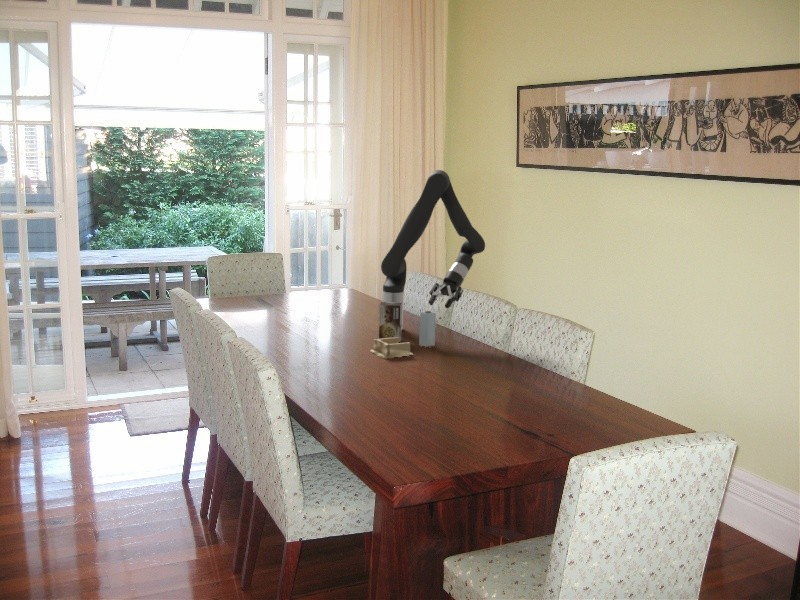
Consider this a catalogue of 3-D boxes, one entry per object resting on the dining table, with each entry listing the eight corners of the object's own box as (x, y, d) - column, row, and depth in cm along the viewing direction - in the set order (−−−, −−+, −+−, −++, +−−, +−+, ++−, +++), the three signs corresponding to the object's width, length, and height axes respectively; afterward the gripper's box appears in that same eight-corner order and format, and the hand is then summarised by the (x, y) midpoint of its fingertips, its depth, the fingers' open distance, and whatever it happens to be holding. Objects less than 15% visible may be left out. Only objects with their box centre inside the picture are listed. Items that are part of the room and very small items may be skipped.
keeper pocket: (370, 351, 352) (370, 339, 351) (398, 348, 358) (399, 336, 357) (383, 359, 342) (384, 345, 341) (413, 355, 348) (413, 342, 347)
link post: (419, 345, 364) (420, 311, 362) (426, 344, 368) (427, 309, 365) (427, 347, 361) (428, 313, 359) (434, 346, 365) (435, 311, 362)
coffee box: (401, 339, 374) (402, 302, 371) (399, 343, 368) (401, 305, 364) (380, 338, 375) (381, 301, 372) (378, 342, 368) (379, 304, 365)
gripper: (439, 267, 375) (421, 297, 368) (466, 272, 365) (447, 302, 359) (446, 278, 380) (428, 308, 373) (473, 283, 370) (455, 313, 364)
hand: (438, 305), depth 366 cm, fingers open, 8 cm apart
